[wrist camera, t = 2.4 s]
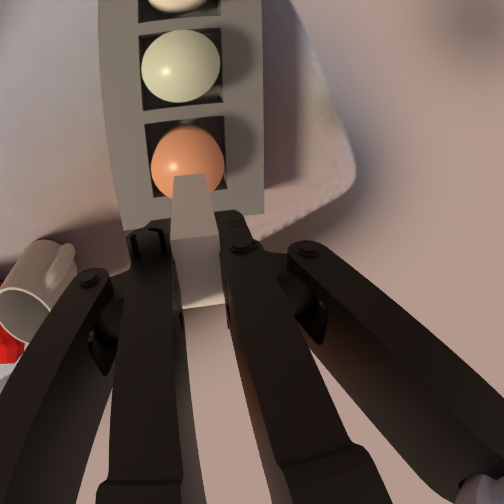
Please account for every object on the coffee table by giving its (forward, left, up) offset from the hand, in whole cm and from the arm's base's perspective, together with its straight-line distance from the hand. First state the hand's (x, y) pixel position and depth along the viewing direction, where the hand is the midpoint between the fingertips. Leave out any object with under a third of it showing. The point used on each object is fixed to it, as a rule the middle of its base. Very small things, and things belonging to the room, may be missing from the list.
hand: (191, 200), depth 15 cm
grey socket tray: (0, +7, -14) cm, 16 cm away
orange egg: (0, 0, -10) cm, 10 cm away
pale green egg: (0, +7, -10) cm, 12 cm away
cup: (-16, -10, -14) cm, 24 cm away
